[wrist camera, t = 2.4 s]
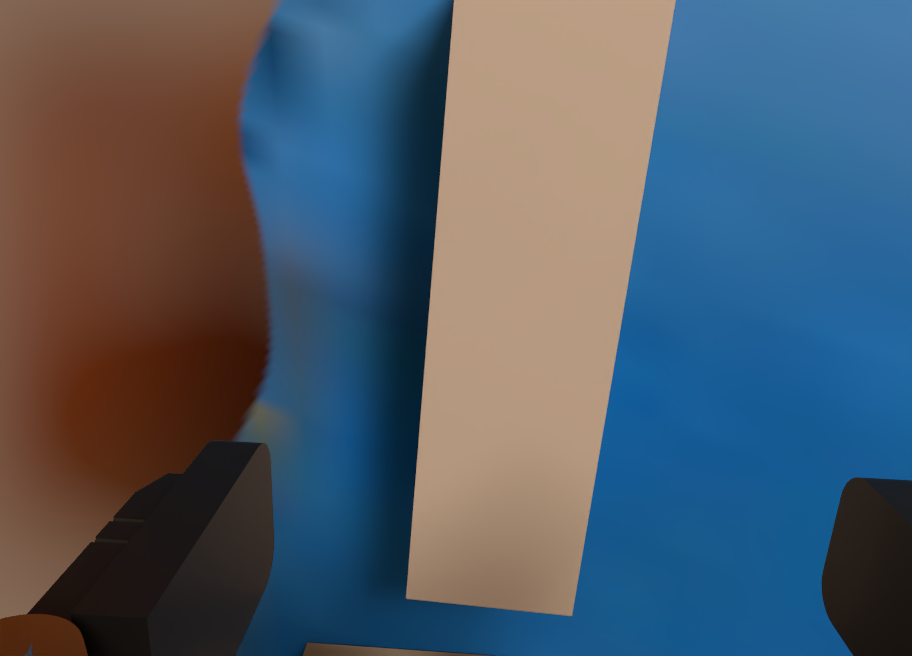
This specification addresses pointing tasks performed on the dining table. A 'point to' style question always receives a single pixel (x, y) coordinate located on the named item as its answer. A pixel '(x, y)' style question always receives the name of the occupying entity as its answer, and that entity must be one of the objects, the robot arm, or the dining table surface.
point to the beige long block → (529, 289)
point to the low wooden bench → (368, 651)
